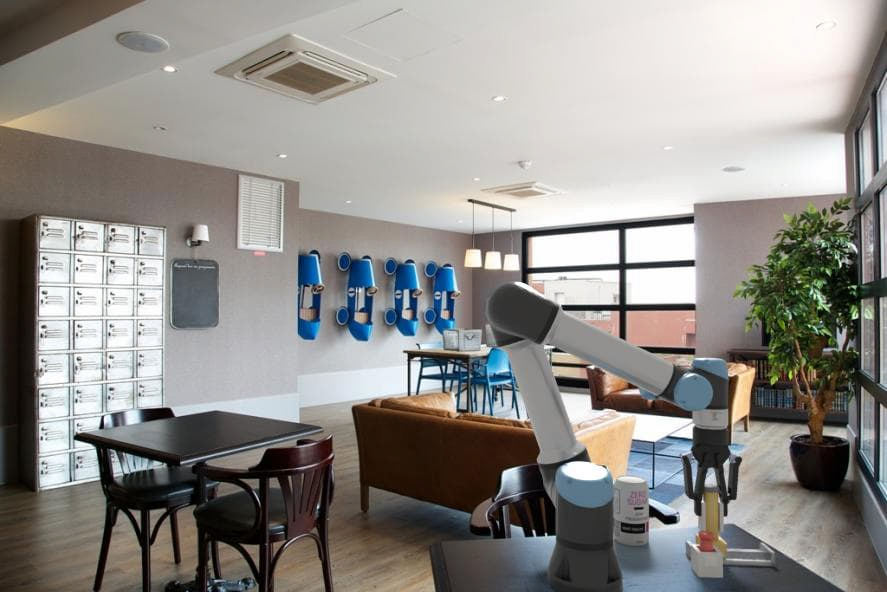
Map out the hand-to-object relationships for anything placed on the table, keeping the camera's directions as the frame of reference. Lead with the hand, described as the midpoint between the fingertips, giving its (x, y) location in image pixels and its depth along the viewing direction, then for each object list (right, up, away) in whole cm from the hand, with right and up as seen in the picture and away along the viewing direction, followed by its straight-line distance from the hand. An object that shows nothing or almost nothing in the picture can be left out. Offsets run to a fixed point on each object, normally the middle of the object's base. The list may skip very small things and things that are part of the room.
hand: (710, 530), depth 141 cm
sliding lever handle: (0, -5, 0) cm, 5 cm away
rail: (+4, -7, 0) cm, 8 cm away
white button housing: (-4, -6, -7) cm, 11 cm away
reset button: (-4, -3, -7) cm, 9 cm away
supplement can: (-15, -7, +11) cm, 20 cm away
